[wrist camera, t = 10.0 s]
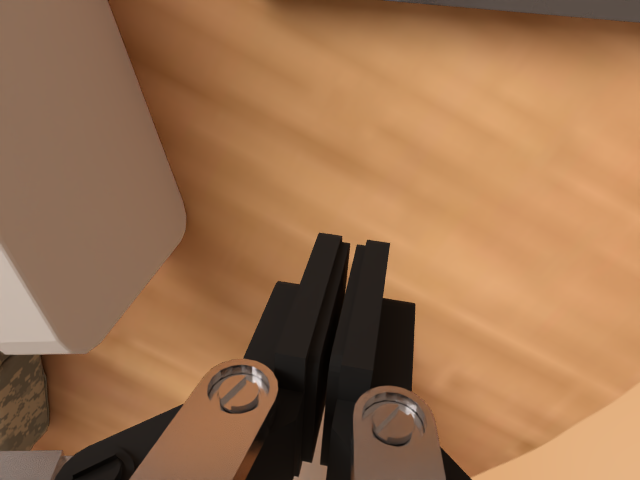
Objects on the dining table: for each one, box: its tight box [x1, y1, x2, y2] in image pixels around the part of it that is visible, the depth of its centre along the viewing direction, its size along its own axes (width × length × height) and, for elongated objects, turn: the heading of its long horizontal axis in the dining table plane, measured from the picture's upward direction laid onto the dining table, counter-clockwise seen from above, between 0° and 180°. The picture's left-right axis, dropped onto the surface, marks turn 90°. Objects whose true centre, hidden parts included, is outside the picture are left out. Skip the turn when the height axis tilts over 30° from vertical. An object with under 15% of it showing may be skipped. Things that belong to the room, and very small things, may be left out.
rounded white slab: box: [0, 0, 186, 355], centre depth 33 cm, size 29×8×18 cm, turn 12°
